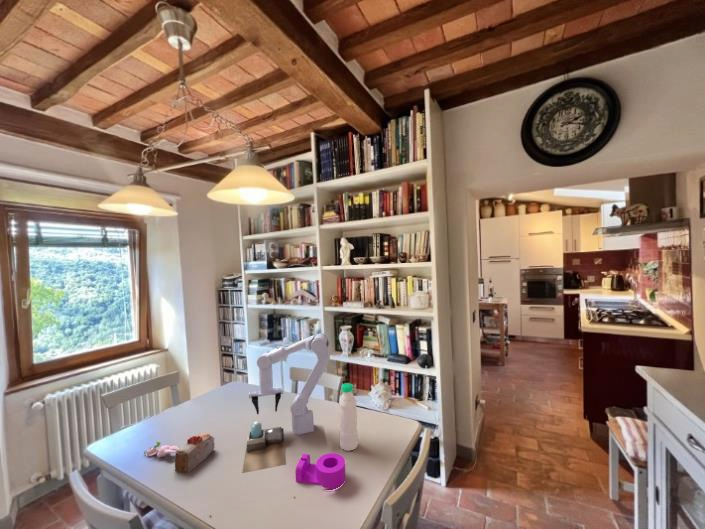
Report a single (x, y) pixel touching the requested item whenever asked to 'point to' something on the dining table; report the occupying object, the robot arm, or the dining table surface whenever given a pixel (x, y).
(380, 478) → the dining table surface
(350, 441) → the water bottle
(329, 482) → the tape dispenser
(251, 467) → the mounting board
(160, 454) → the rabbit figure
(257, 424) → the blue bottle white cap
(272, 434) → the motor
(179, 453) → the food item
